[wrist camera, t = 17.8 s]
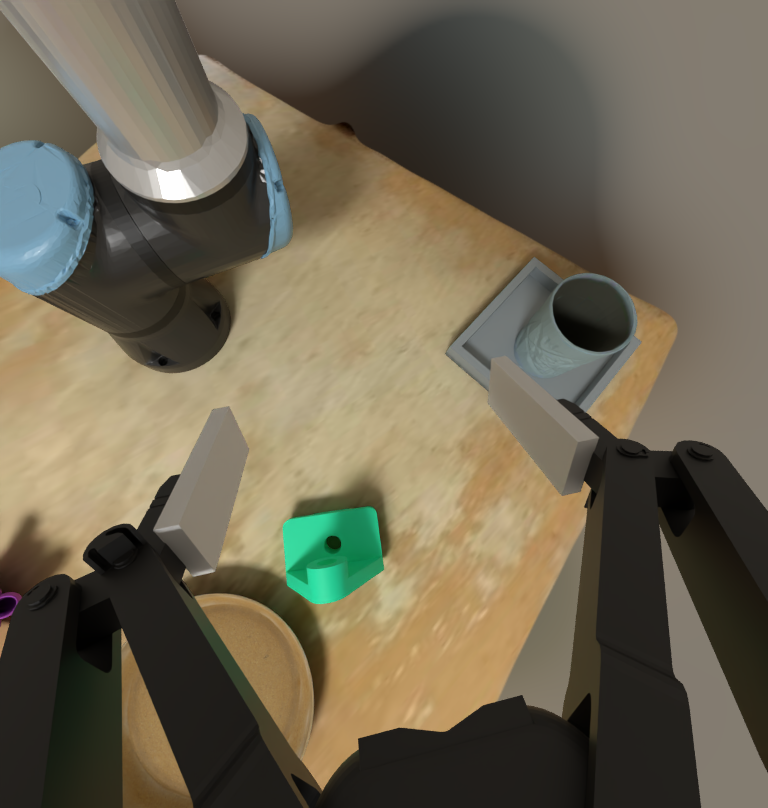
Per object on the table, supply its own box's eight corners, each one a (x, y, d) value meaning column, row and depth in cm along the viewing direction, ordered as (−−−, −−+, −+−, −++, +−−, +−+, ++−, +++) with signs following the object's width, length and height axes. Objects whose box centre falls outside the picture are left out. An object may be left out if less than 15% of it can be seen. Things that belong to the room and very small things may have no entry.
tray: (445, 354, 48) (449, 346, 46) (524, 268, 52) (534, 256, 49) (549, 444, 46) (561, 442, 43) (625, 349, 50) (641, 341, 47)
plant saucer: (343, 614, 41) (340, 627, 38) (279, 841, 36) (270, 877, 33) (165, 560, 42) (148, 568, 39) (80, 777, 37) (51, 806, 34)
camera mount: (375, 504, 44) (376, 514, 34) (383, 563, 43) (386, 593, 32) (287, 517, 43) (261, 532, 33) (292, 578, 42) (266, 613, 32)
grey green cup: (547, 396, 47) (605, 372, 35) (493, 351, 48) (532, 313, 36) (586, 348, 48) (655, 310, 37) (533, 306, 49) (583, 255, 38)
